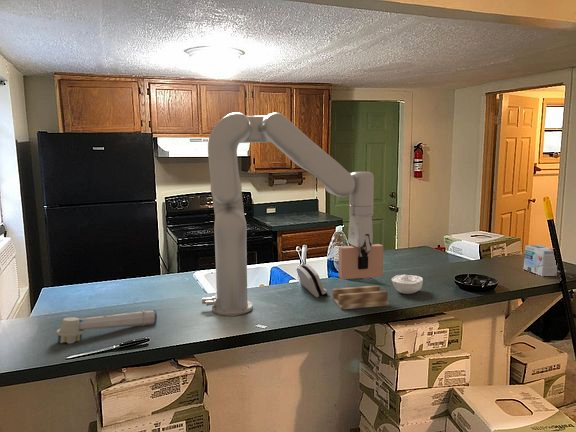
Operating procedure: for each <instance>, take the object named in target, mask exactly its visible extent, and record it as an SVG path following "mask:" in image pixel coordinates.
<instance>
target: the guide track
mask: <svg viewBox="0 0 576 432" xmlns="http://www.w3.org/2000/svg"><path fill="white" fill-rule="evenodd" d="M331 300H332V301H333V302H334V303H335V304H336V305H337V307H338V308H339V309H340V310H349V309H351V310H352V309H362V308H375V307H388V306H390V302H389V301H388V291H387V290H381V286H380V285H378V284H377V285H376V284H375V285H366V286H365V285H364V286H352V287H338V288H335V287H334V288H332V296H331Z"/></svg>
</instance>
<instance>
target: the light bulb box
mask: <svg viewBox="0 0 576 432" xmlns="http://www.w3.org/2000/svg"><path fill="white" fill-rule="evenodd" d="M524 246H525V247H524V259H523V269H525V270H528V271H530V272H533V273H536V274H538V275H541V276H555V275H556V276H557V274H558V273H557V272H558V264H557V265H556V260H555V257H554V252H553V249H554V248H553V247H549V246H544V245H542V244H531V245H529V244H527V245H524Z"/></svg>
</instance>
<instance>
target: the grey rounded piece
mask: <svg viewBox="0 0 576 432" xmlns="http://www.w3.org/2000/svg"><path fill="white" fill-rule="evenodd" d="M295 269H296V272H297V275H298V278H299V281H300V284H301V286H303V287H304V288H305V289H306V290H307V291H308V292H310V294H311V295H313V296H314V297H315V298H318V297H320V295H327V297H329V296H330V293H329V290H327V289H326V288H324V286H323V283H322V281H321V278H320V276H319V274H318V272H317V271H316V270H315V269H314V268H313V267H312V266H311V265H309V264H302V265H301V266H298V267H297V268H295Z"/></svg>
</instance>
